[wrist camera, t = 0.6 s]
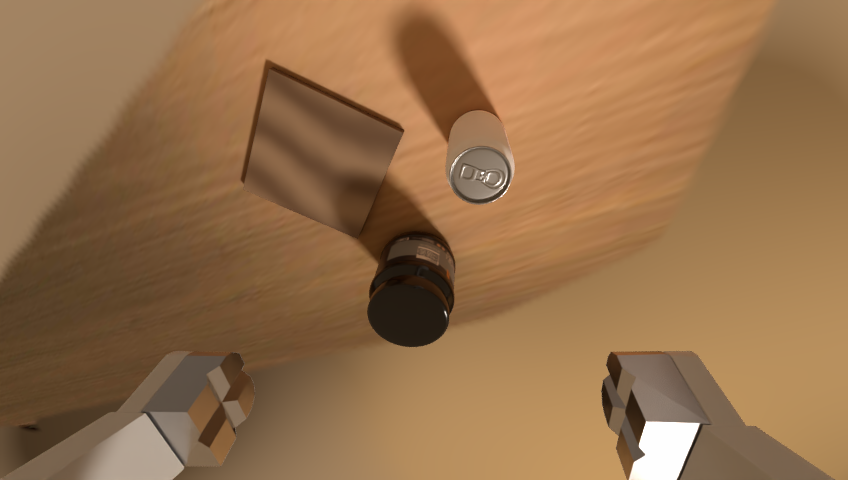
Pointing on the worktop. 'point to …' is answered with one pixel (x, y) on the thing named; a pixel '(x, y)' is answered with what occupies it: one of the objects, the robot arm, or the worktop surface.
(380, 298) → the supplement container
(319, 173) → the walnut board
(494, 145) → the can
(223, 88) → the worktop surface
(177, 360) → the robot arm
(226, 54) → the worktop surface
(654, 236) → the worktop surface
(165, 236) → the worktop surface
